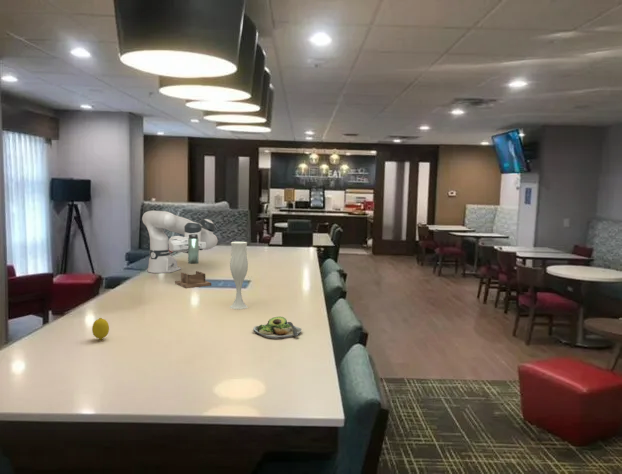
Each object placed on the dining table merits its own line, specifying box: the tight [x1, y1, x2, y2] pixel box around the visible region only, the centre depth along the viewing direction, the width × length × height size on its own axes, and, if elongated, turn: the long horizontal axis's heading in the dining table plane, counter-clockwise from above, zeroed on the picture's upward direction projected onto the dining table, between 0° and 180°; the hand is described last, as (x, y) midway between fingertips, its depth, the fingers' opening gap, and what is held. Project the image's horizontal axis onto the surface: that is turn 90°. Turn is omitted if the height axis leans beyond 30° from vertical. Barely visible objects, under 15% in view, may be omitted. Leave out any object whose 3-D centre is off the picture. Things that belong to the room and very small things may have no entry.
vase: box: [229, 241, 249, 310], centre depth 232 cm, size 9×8×30 cm
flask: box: [187, 234, 200, 265], centre depth 282 cm, size 6×6×16 cm
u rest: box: [174, 270, 212, 289], centre depth 284 cm, size 15×15×6 cm
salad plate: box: [252, 316, 302, 340], centre depth 193 cm, size 19×18×5 cm
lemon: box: [91, 317, 110, 341], centre depth 181 cm, size 6×6×8 cm
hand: (193, 247), depth 281 cm, fingers closed on flask, 6 cm apart
